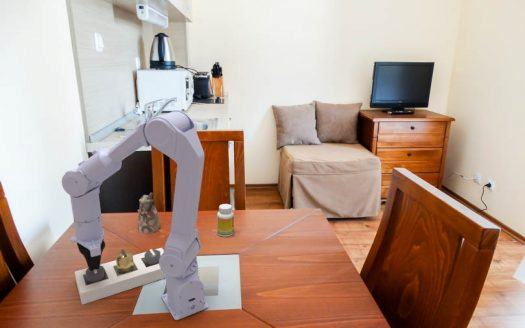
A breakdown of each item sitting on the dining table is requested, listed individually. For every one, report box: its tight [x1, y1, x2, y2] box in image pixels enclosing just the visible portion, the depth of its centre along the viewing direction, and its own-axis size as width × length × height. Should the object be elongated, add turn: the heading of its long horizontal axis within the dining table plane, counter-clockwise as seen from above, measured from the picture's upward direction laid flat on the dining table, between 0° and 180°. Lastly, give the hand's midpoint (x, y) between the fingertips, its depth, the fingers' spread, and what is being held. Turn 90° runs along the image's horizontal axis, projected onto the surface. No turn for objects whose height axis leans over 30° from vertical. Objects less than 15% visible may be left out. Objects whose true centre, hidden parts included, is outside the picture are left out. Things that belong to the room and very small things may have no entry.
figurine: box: [137, 192, 161, 235], centre depth 114 cm, size 7×7×12 cm
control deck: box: [74, 247, 166, 305], centre depth 90 cm, size 10×22×3 cm, turn 124°
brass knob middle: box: [114, 248, 134, 275], centre depth 89 cm, size 4×4×5 cm
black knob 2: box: [145, 248, 161, 267], centre depth 93 cm, size 4×4×5 cm
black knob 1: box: [86, 266, 106, 285], centre depth 85 cm, size 4×4×5 cm
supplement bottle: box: [216, 203, 235, 238], centre depth 113 cm, size 5×5×10 cm
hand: (94, 268), depth 85 cm, fingers closed, pressing on black knob 1
